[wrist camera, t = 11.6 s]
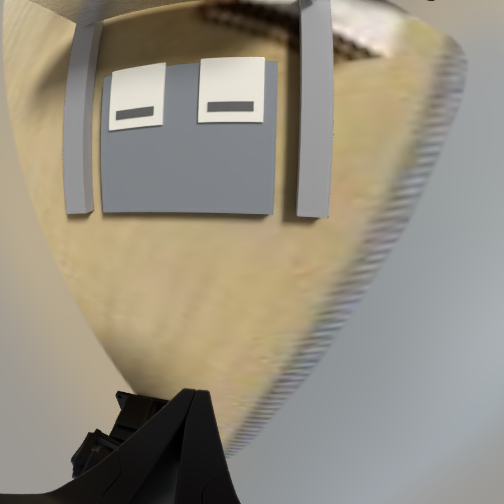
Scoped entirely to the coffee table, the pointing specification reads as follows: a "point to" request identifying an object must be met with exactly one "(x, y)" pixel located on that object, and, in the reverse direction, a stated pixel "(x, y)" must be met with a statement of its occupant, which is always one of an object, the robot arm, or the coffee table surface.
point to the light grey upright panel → (100, 8)
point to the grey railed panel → (198, 129)
